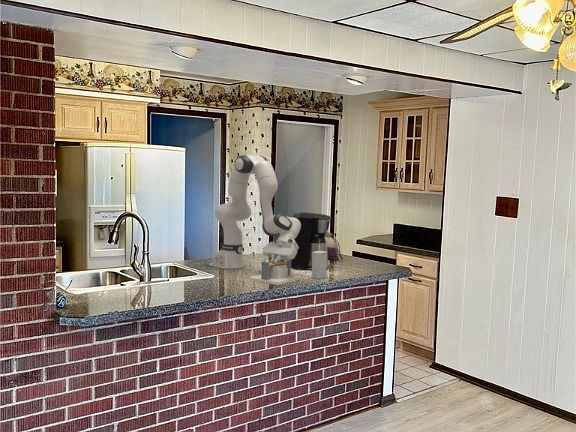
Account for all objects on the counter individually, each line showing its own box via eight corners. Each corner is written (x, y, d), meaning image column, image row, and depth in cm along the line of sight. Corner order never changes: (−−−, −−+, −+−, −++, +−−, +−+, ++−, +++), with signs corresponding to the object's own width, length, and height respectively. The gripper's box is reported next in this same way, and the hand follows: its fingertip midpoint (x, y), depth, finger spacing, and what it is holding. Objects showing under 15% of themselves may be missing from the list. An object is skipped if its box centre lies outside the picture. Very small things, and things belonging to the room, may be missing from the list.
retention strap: (283, 262, 307) (284, 261, 307) (288, 263, 306) (288, 262, 306) (264, 265, 293) (264, 264, 293) (269, 265, 291) (269, 264, 291)
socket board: (248, 279, 296) (249, 260, 295) (273, 274, 314) (273, 255, 313) (278, 285, 285) (278, 264, 284) (301, 278, 302) (302, 259, 302)
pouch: (309, 258, 374) (309, 230, 372) (315, 256, 381) (315, 229, 379) (341, 262, 361) (342, 233, 359) (347, 260, 367) (348, 232, 366)
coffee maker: (332, 271, 328) (334, 215, 325) (279, 271, 324) (280, 214, 321) (324, 264, 350) (326, 212, 347) (275, 264, 346) (276, 211, 343)
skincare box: (320, 279, 303) (321, 252, 301) (310, 278, 306) (311, 251, 304) (327, 277, 310) (327, 251, 309) (317, 275, 313) (318, 250, 312)
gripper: (267, 237, 308) (256, 256, 300) (297, 241, 296) (286, 261, 289) (271, 244, 312) (260, 263, 304) (301, 248, 300) (290, 268, 293)
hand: (273, 262), depth 296 cm, fingers closed, pressing on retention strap
